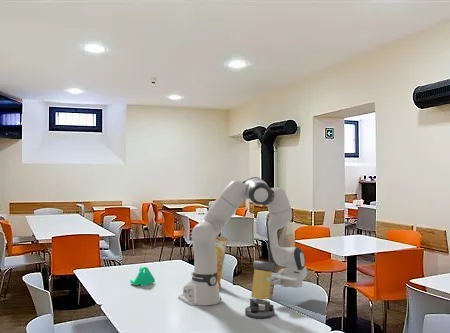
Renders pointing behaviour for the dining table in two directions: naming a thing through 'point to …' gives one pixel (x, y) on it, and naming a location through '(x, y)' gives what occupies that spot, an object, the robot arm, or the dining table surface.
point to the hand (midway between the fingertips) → (271, 282)
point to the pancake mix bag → (220, 255)
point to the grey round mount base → (260, 310)
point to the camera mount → (143, 277)
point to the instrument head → (262, 281)
